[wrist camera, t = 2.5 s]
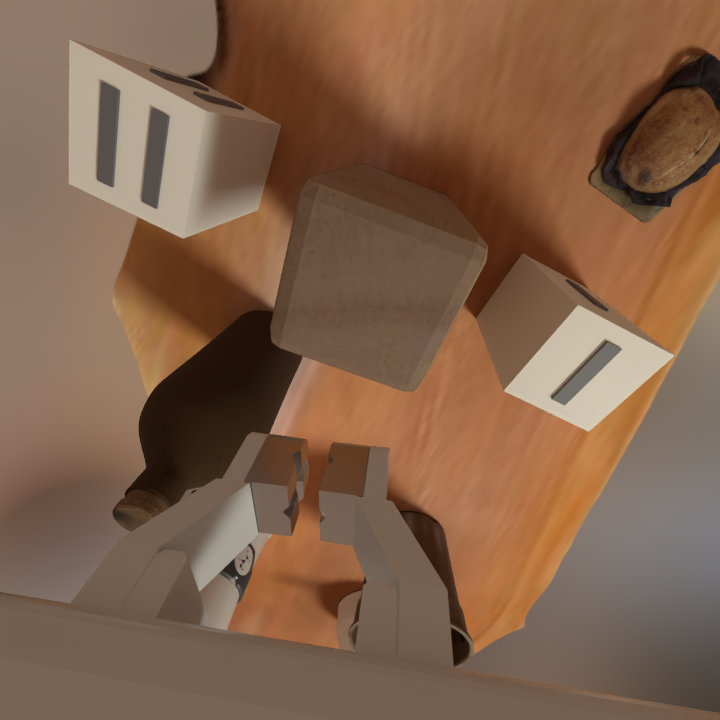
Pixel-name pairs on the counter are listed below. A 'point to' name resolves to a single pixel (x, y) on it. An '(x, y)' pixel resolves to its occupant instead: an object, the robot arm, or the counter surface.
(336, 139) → the counter surface
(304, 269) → the block
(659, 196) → the bread roll
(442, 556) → the plant pot
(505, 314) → the marked block one
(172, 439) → the olive oil
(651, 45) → the counter surface
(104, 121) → the marked block two
